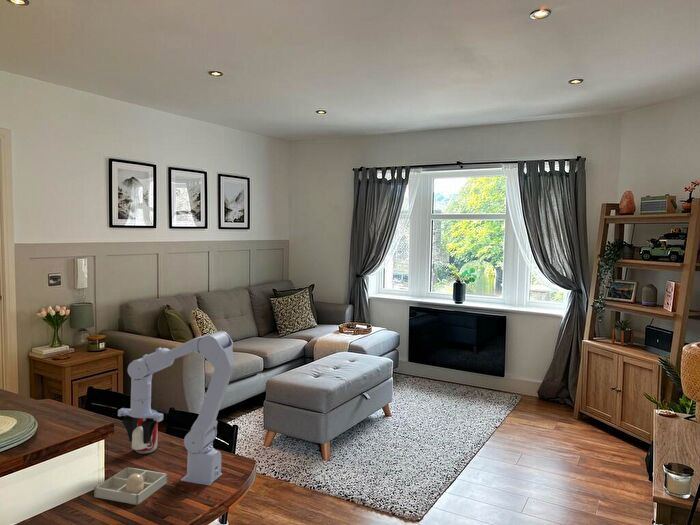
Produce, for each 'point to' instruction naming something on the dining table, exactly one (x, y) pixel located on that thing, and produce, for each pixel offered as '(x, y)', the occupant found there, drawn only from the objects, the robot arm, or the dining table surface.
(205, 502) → the dining table surface
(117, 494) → the carton
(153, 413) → the robot arm
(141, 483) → the brown egg
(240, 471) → the dining table surface
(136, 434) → the white egg
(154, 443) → the soda can
